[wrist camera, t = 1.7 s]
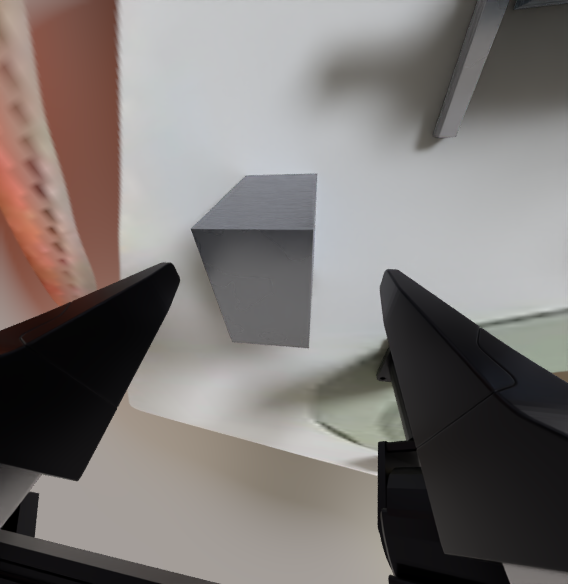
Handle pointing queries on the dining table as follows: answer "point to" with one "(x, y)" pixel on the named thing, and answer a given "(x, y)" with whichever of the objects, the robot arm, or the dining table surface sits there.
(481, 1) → the vise bed
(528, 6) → the block
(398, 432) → the dining table surface
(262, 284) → the steel block
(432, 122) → the dining table surface
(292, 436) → the dining table surface
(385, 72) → the dining table surface
